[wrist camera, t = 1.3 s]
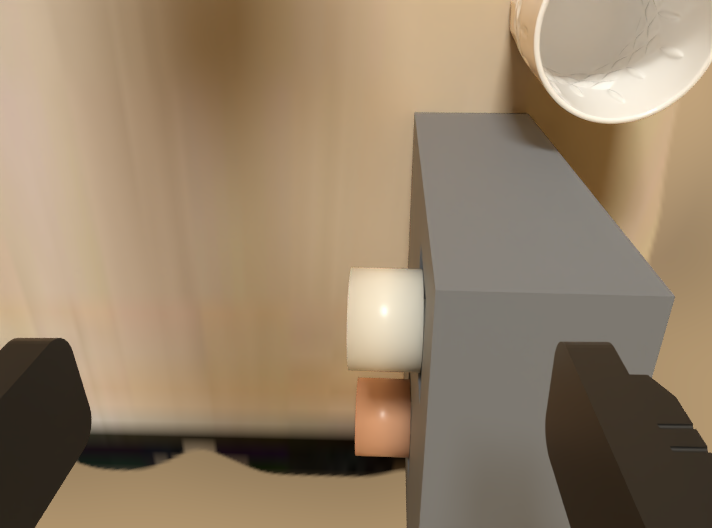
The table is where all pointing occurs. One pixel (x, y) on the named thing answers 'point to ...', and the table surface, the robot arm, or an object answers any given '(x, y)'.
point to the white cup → (614, 53)
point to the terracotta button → (383, 417)
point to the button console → (508, 314)
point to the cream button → (385, 319)
